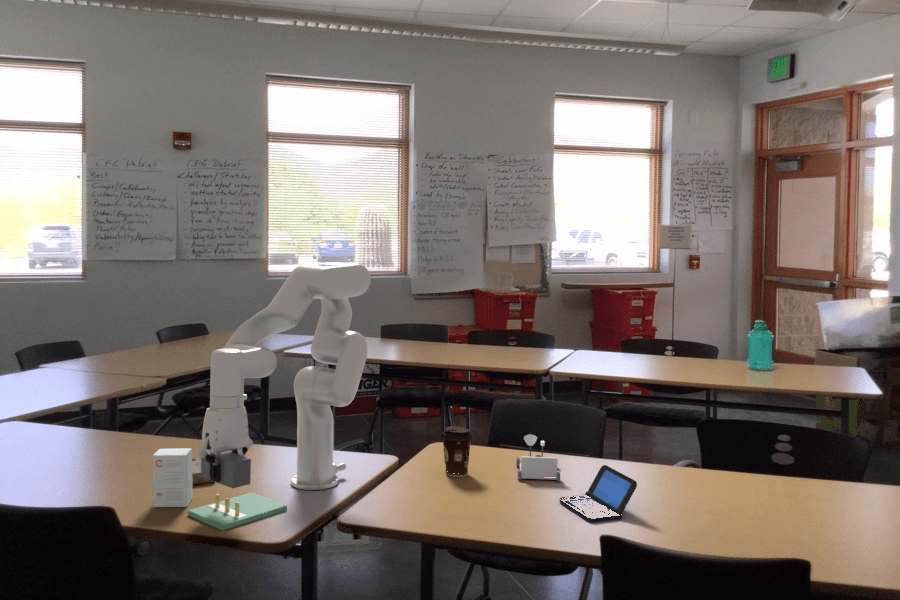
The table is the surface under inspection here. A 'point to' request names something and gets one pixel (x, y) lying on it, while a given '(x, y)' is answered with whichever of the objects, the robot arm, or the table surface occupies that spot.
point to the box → (198, 472)
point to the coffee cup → (456, 450)
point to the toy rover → (537, 464)
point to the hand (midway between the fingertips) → (225, 477)
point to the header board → (236, 510)
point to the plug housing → (230, 469)
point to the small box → (172, 477)
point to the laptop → (607, 493)
